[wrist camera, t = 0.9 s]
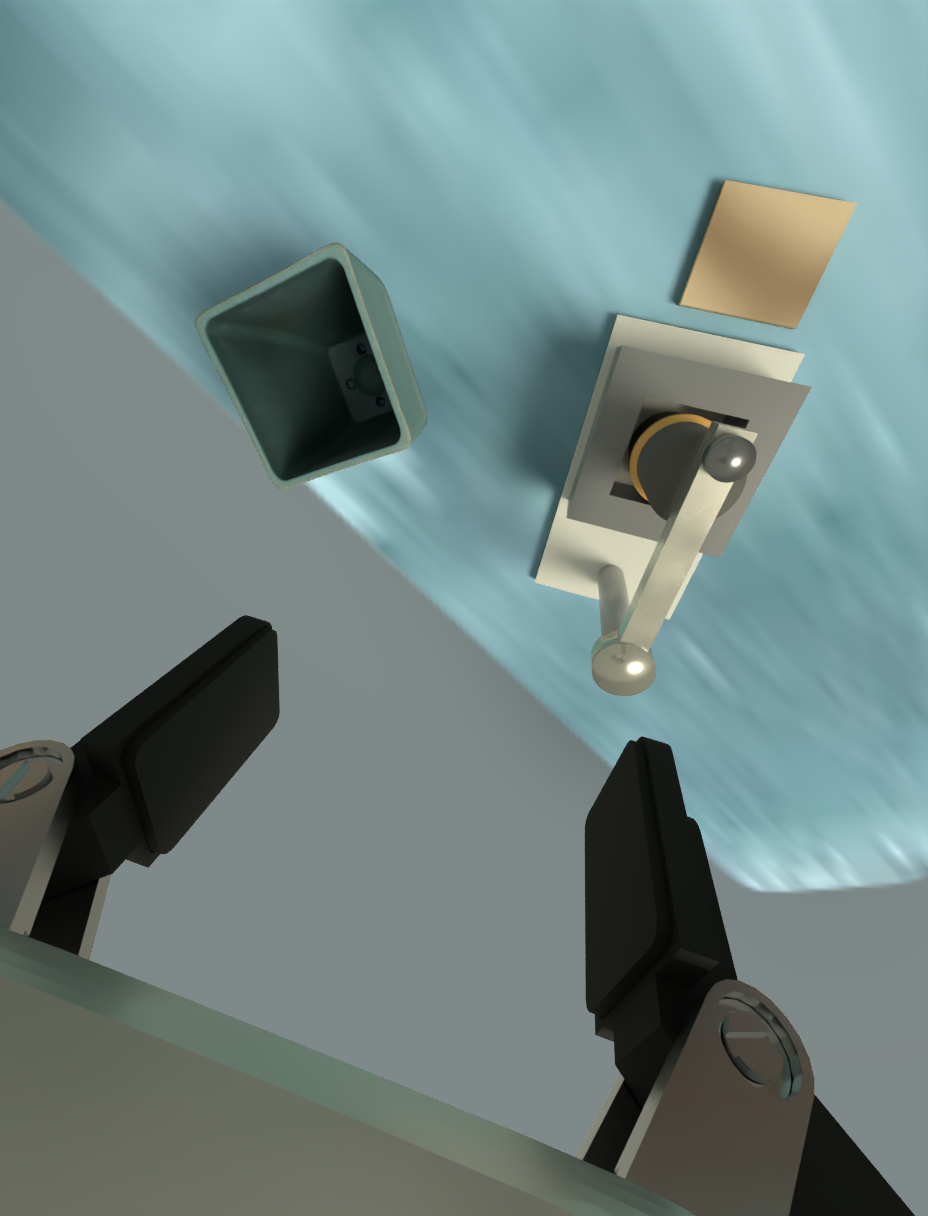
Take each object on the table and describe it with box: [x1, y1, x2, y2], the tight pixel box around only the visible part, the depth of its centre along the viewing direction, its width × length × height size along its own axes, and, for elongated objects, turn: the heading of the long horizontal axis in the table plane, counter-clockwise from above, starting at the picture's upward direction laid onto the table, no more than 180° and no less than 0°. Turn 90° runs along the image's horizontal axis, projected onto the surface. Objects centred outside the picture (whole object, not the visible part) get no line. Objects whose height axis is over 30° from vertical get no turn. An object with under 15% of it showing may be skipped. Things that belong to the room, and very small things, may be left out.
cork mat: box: [678, 180, 857, 329], centre depth 23 cm, size 5×6×1 cm
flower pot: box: [195, 243, 427, 489], centre depth 26 cm, size 9×9×9 cm
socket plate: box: [535, 315, 811, 636], centre depth 25 cm, size 17×10×10 cm, turn 169°
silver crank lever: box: [591, 421, 758, 696], centre depth 20 cm, size 13×3×2 cm, turn 169°
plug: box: [628, 412, 747, 521], centre depth 24 cm, size 5×5×9 cm
